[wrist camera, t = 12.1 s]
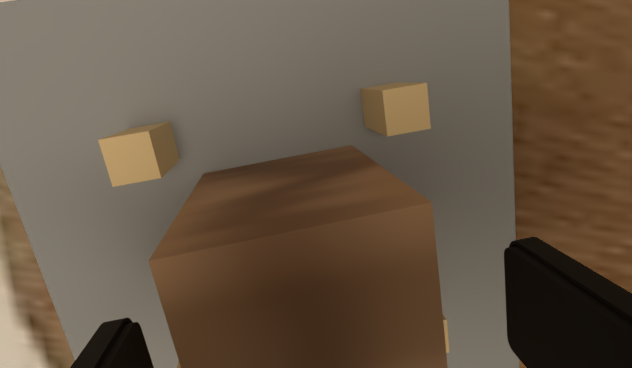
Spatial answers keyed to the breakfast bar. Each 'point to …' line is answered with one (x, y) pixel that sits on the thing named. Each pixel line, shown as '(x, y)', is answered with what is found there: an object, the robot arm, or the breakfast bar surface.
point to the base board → (252, 135)
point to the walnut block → (303, 268)
